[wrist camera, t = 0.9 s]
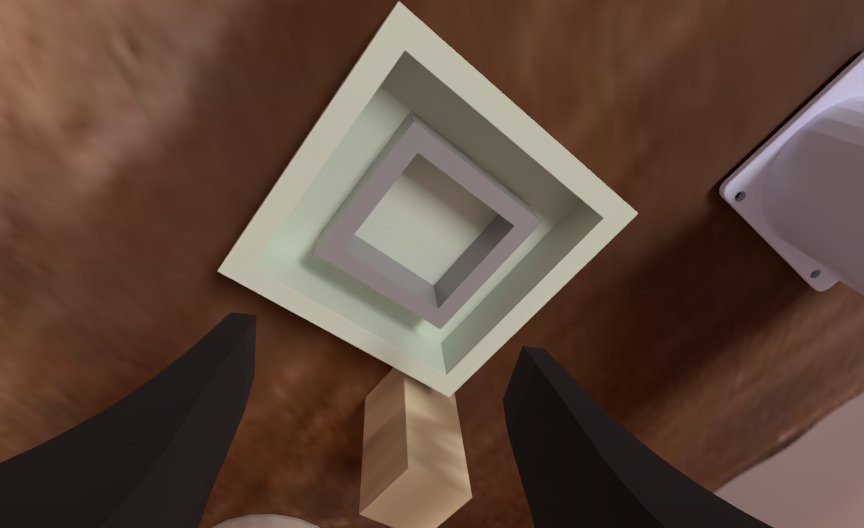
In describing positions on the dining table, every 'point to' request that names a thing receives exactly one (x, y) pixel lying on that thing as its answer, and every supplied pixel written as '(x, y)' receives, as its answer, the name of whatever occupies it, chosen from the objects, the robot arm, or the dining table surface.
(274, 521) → the mug
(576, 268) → the square tray
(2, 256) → the dining table surface
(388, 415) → the tan wooden block
